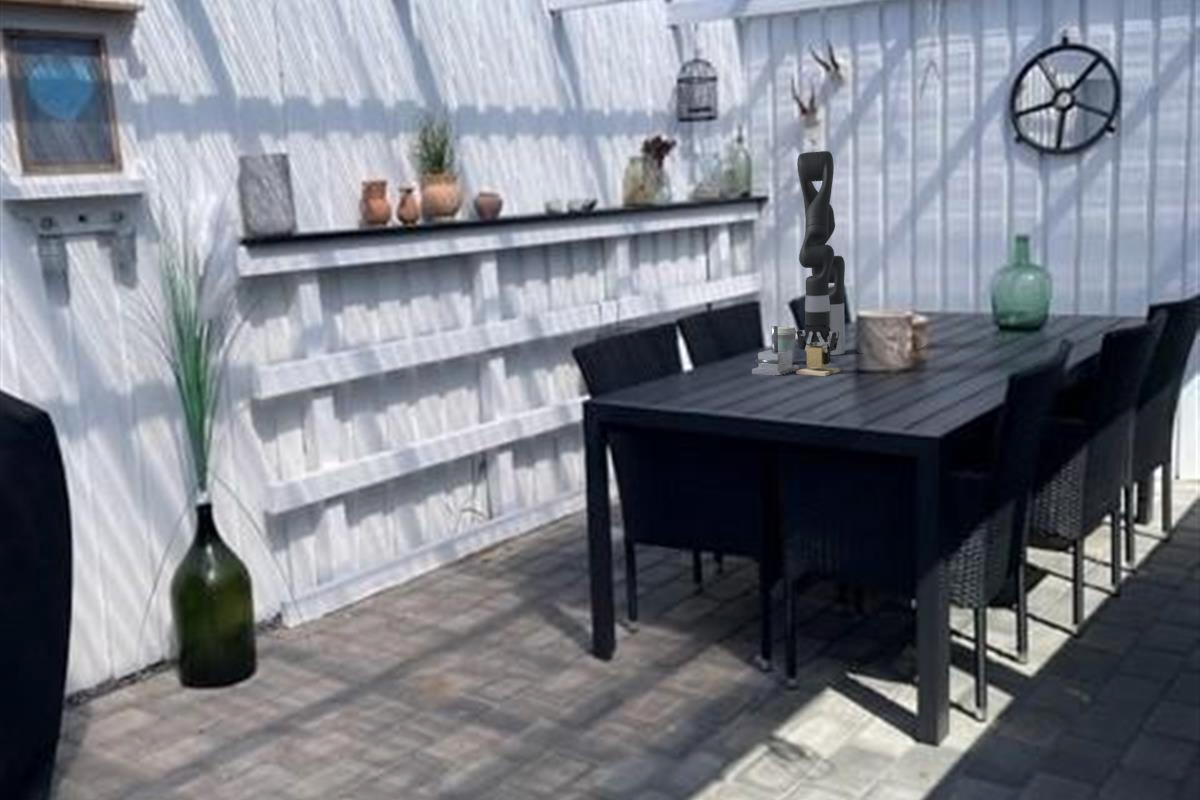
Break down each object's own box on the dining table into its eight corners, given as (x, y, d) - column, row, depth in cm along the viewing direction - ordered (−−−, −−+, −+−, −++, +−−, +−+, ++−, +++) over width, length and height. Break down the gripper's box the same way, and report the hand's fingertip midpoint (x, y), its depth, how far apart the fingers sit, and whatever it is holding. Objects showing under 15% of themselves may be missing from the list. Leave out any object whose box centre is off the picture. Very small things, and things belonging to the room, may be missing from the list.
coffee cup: (789, 366, 416) (788, 329, 414) (766, 364, 421) (765, 328, 419) (802, 362, 423) (801, 326, 421) (779, 360, 428) (778, 325, 426)
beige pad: (811, 369, 408) (811, 366, 408) (840, 371, 402) (840, 368, 402) (796, 374, 400) (796, 370, 400) (825, 376, 394) (824, 372, 394)
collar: (814, 364, 404) (814, 345, 403) (829, 365, 401) (829, 346, 400) (806, 366, 400) (806, 347, 399) (821, 367, 397) (821, 348, 396)
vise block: (771, 368, 414) (770, 323, 411) (798, 370, 408) (798, 324, 405) (751, 373, 404) (750, 328, 402) (779, 375, 398) (778, 329, 396)
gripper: (844, 308, 396) (844, 363, 399) (802, 307, 405) (803, 360, 408) (832, 311, 391) (833, 366, 394) (790, 310, 399) (791, 364, 402)
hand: (818, 363), depth 401 cm, fingers closed on collar, 5 cm apart
